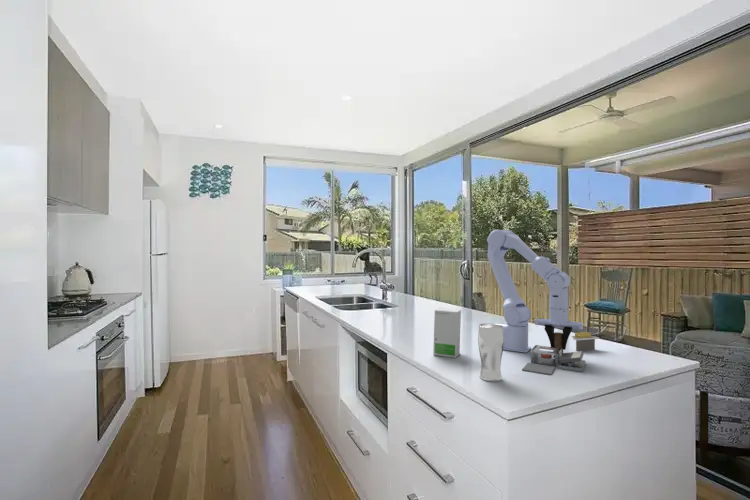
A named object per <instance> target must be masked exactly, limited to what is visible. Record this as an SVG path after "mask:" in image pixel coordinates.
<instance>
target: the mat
mask: <svg viewBox="0 0 750 500" xmlns="http://www.w3.org/2000/svg"><path fill="white" fill-rule="evenodd" d="M555 369H556V366H550V365H543V364H536V363H531V362H527V363H526V364H525V366H524V367H523V368H522V369H521V370H522V372H523V371H524V372H528V373H529V372H530V373H535V374H542V375H549V376H552V374H553V373H554V371H555Z"/></svg>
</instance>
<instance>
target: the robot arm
mask: <svg viewBox="0 0 750 500" xmlns="http://www.w3.org/2000/svg"><path fill="white" fill-rule="evenodd" d="M486 242H487V259H488V262H489V265H490V266H491V269H492V272H493V274H494V275H493V276H494V278H495V280H496V282H497V285H498V288H499V290H500V293H501V295H502V297H503V298H502V299H503V300H504V302H503V305H502V308H503V319H504V321H505V322H506V323H502V324H501V325H502V326H503V334H504V347H503V351H511V352H519V353H525V354H526V353H528V352H529V351H531V350H532V346H529V320H530V319H531V317H532V311H531V309H530V308H529V306H527V305H526V303H525V300H524V299H522V298H521V297H520V295H519V293H518V291H517V287H516V286H515V283H514V281H513V277H512V276H511V272H510V270H509V266H508V265H507V263H506V260H505V258H504V256H505V255H506V253H507V251H508V250H509V249H511V250H515V251H516V252H517V253H518V254H520V256H522V257H524V258H525V259H526V260H527V261H528V262H529V263H531V269H532V271H534V272H535V273H536V274H538V275H539V277H541V278H542V280H544V281H545V283H546V285H547V288H548V289H549V297H548V298H549V303H548V304H549V308H548V311H549V313H548V314H549V315H548V317H549V318H548V319H547V318H535V319H534V322H535V323H534V325H535V326H544V331H545V332H546V335H547V337H548V340H549V344H550V347H554V333H555V328H562V333H563V351H565V350H566V348H567V342H568V339H569V337H570V335H571V334H572V330H573V329H576V330H583V329H584V327H583V326H584V323H583V322H580V321H571V320H569V293H568V292H569V288H568V287H569V286H570V285H571V278H570V275H568V273H567V272H565V271H562V270H561V268H559V267H556V265H554V264H553V263H552V262H551V259H550V258H549V257H545V256H538V254H537V253H535V252H534V251H533V249H532V248H530V247H529V246H528V245H527V244H526V243H525V242H524V240H522V239H521V237H519V235H518V234H515V232H513V231H512V230H509V229H506V230H504V229H499V228H497V229H493V230H492V231H490V232H489V235H488V237H487V239H486Z"/></svg>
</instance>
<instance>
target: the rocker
mask: <svg viewBox="0 0 750 500" xmlns="http://www.w3.org/2000/svg"><path fill="white" fill-rule="evenodd" d="M583 357H584V350H583V351H570V352H563V354H562V355H561V357H560V359H559V362H560V363H567V362H578V361H581V360H583Z"/></svg>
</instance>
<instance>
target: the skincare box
mask: <svg viewBox="0 0 750 500" xmlns="http://www.w3.org/2000/svg"><path fill="white" fill-rule="evenodd" d="M461 315H462V309H455V308H454V309H453V308H445V307H438V308H436V309H434V321H433V322H434V323H433V325H434V326H433V356H440V357H447V358H453V359H455V358H457V357H458V356H459V355H460V353H461V350H460V348H461V322H462V321H461V320H462V316H461Z"/></svg>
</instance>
